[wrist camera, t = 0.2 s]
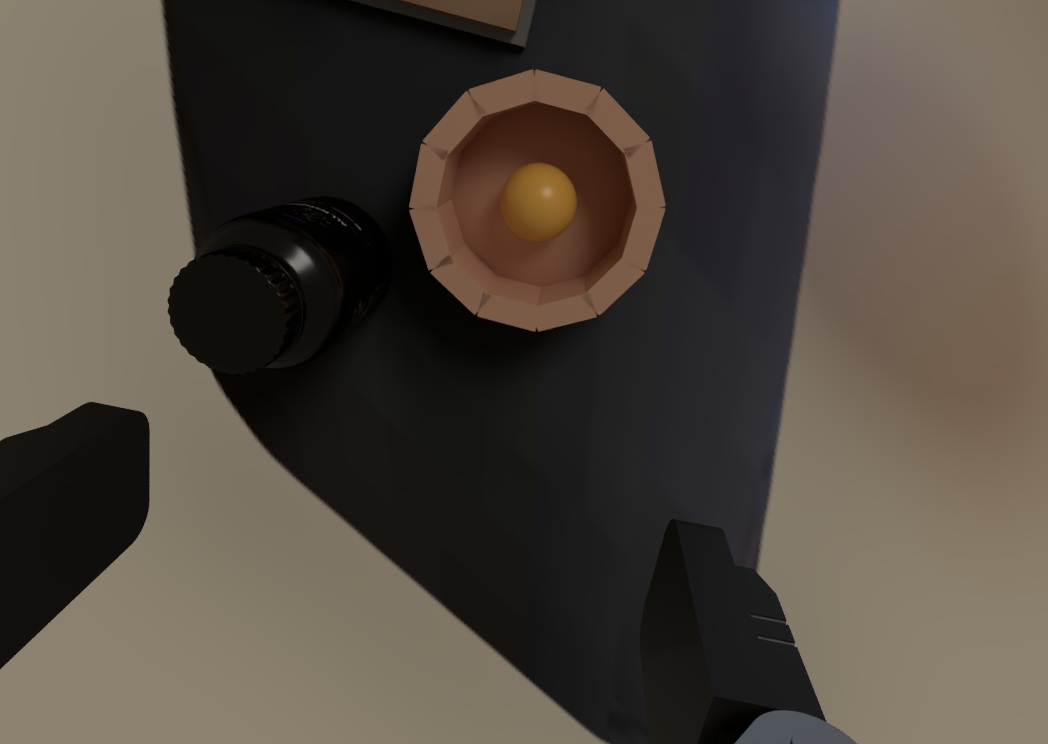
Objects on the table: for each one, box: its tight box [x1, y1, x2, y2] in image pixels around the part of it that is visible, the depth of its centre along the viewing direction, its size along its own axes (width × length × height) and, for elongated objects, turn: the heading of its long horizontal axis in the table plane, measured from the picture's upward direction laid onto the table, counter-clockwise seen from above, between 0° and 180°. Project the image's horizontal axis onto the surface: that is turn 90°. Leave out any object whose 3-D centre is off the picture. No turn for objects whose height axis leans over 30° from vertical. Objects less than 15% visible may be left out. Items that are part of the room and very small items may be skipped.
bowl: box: [409, 69, 666, 332], centre depth 35 cm, size 11×11×5 cm
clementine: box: [500, 163, 577, 241], centre depth 35 cm, size 4×4×4 cm
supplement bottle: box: [168, 196, 393, 374], centre depth 34 cm, size 7×7×12 cm
